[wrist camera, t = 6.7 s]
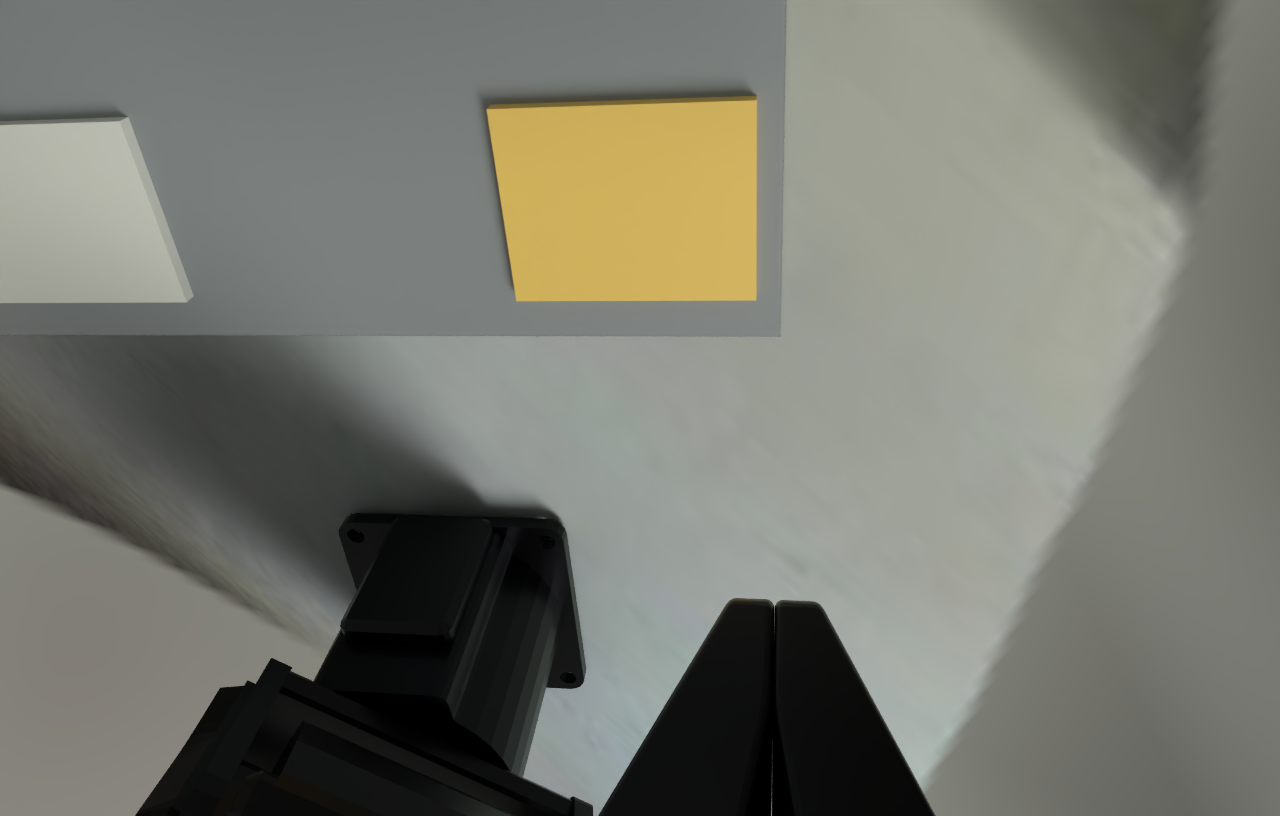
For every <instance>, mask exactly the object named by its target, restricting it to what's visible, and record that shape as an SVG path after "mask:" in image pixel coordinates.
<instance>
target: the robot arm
mask: <svg viewBox="0 0 1280 816" xmlns="http://www.w3.org/2000/svg"><path fill="white" fill-rule="evenodd" d="M355 529H356V530H359V531H361V532H362V533H359V532H357V531H356V530H355ZM543 535H546V536H550V537H551V538H553V539H552V540H549V539H545V538H544V537H542V536H543ZM339 536H340V539H341V542H342V545H343V549H344V552H345V555H346V558H347V561H348V564H349V567H350V570H351V574H352V577H353V580H354V583H355V586H356V589H357V592H356V594H355V596H354V598H353V600H352V601H351V603H350V605H349V607H348V609H347V611H346V613H345V615H344V617H343V619H342V621H341V625H340V627H341V629H340V631H339V633H338V635H337V637H336V639H335V641H334V643H333V645H332V646H331V648H330V650H329V652H328V654H327V656H326V658H325V660H324V662H323V664H322V666H321V668H320V670H319V672H318V674H317V676H316V677H315V679H314V681H311V680H309V679H307V678H305V677H303V676H300V675H298V674H296V673H294V672H292V671H291V669H292V667H290V666H288V665H286V664H284V663H282V662H279V661H277V660H275V659H273V658H271V659H270V661H269V663H268V664H267V666H266V668H265V669H264V671H263V673H262V675H261V676H260V678H259V680H258V681H257V683H256V684H254V683H252V682H250V681H247V682H246V684H245V685H244V686H236V687H224V688H220V689H219V691H218V692H217V694H216V696H215V697H214V699H213V701H212V702H211V704H210V705H209V707H208V709H207V710H206V712H205V714H204V715H203V717H202V718H201V720H200V722H199V723H198V725H197V726H196V728H195V730H194V731H193V733H192V734H191V736H190V738H189V739H188V741H187V742H186V744H185V745H184V747H183V748H182V750H181V751H180V753H179V754H178V756H177V757H176V759H175V760H174V761H173V763H172V764H171V766H170V767H169V768H168V770H167V771H166V773H165V774H164V775H163V777H162V779H161V780H160V781H159V783H158V784H157V785H156V787H155V788H154V790H153V791H152V793H151V794H150V795H149V797H148V798H147V799H146V801H145V802H144V804H143V805H142V807H141V808H140V810H139V811H138V812H137V814H136V815H135V816H593V806H592V805H591V804H589V803H586V802H584V801H582V800H580V799H578V798H575V797H571V798H570V799H569V798H566V797H564V796H562V795H560V794H558V793H556V792H553V791H551V790H549V789H547V788H545V787H542V786H540V785H538V784H536V783H534V782H532V781H529V780H527V779H525V778H523V775H524V771H525V767H526V763H527V759H528V755H529V752H530V748H531V744H532V740H533V736H534V732H535V728H536V724H537V721H538V717H539V713H540V709H541V705H542V701H543V697H544V693H545V690H546V687H548V688H566V689H572V688H577V687H580V686H581V685H582V684H583V682H584V678H585V673H586V664H585V657H584V650H583V643H582V636H581V629H580V622H579V615H578V608H577V601H576V594H575V587H574V581H573V574H572V567H571V560H570V553H569V546H568V539H567V533H566V530H565V528H564V527H563V526H562V525H561V524H560V523H558V522H556V521H554V520H550V519H534V518H500V517H467V516H433V515H400V514H366V513H355V514H350V515H349V516H347V517H346V519H345V520H344V522H343V524H342V525H341V527H340V529H339ZM568 672H569V673H568ZM772 740H773V747H772ZM771 801H772V816H936V815H935V814H934V812H933V810H932V808H931V806H930V804H929V802H928V801H927V799H926V797H925V795H924V793H923V791H922V790H921V788H920V786H919V784H918V782H917V780H916V778H915V777H914V775H913V773H912V771H911V769H910V767H909V766H908V764H907V762H906V760H905V758H904V756H903V755H902V753H901V751H900V749H899V747H898V745H897V743H896V742H895V740H894V738H893V736H892V734H891V732H890V731H889V729H888V727H887V725H886V723H885V721H884V719H883V718H882V716H881V714H880V712H879V710H878V708H877V707H876V705H875V703H874V701H873V699H872V697H871V695H870V694H869V692H868V690H867V688H866V686H865V684H864V683H863V681H862V679H861V677H860V675H859V673H858V672H857V670H856V668H855V666H854V664H853V662H852V660H851V659H850V657H849V655H848V653H847V651H846V649H845V648H844V646H843V644H842V642H841V640H840V638H839V636H838V635H837V633H836V631H835V629H834V627H833V625H832V624H831V622H830V620H829V618H828V616H827V614H826V612H825V611H824V609H823V608H822V607H821V605H820V604H818V603H817V602H812V601H790V600H781V601H779V602H777V604H776V605H775V620H774V605H773V603H772V602H771V601H769V600H766V599H744V598H734V599H732V600H730V601H729V602H728V603H727V604H726V606H725V607H724V609H723V611H722V612H721V614H720V615H719V617H718V619H717V620H716V622H715V624H714V625H713V627H712V629H711V630H710V632H709V634H708V635H707V637H706V639H705V640H704V642H703V644H702V645H701V647H700V649H699V650H698V652H697V654H696V655H695V657H694V658H693V660H692V662H691V663H690V665H689V667H688V668H687V670H686V672H685V673H684V675H683V677H682V678H681V680H680V682H679V683H678V685H677V687H676V688H675V690H674V692H673V693H672V695H671V697H670V698H669V700H668V701H667V703H666V705H665V706H664V708H663V710H662V711H661V713H660V715H659V716H658V718H657V720H656V721H655V723H654V725H653V726H652V728H651V730H650V731H649V733H648V735H647V736H646V738H645V740H644V741H643V743H642V744H641V746H640V748H639V749H638V751H637V753H636V754H635V756H634V758H633V759H632V761H631V763H630V764H629V766H628V768H627V769H626V771H625V773H624V774H623V776H622V778H621V779H620V781H619V783H618V784H617V786H616V787H615V789H614V791H613V792H612V794H611V796H610V797H609V799H608V801H607V802H606V804H605V806H604V807H603V809H602V811H601V812H600V814H599V816H771Z"/></svg>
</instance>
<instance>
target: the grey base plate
mask: <svg viewBox="0 0 1280 816" xmlns="http://www.w3.org/2000/svg"><path fill="white" fill-rule="evenodd" d="M785 54H786V0H0V335H251V336H764V337H781V282H782V225H783V168H784V111H785Z"/></svg>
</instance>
